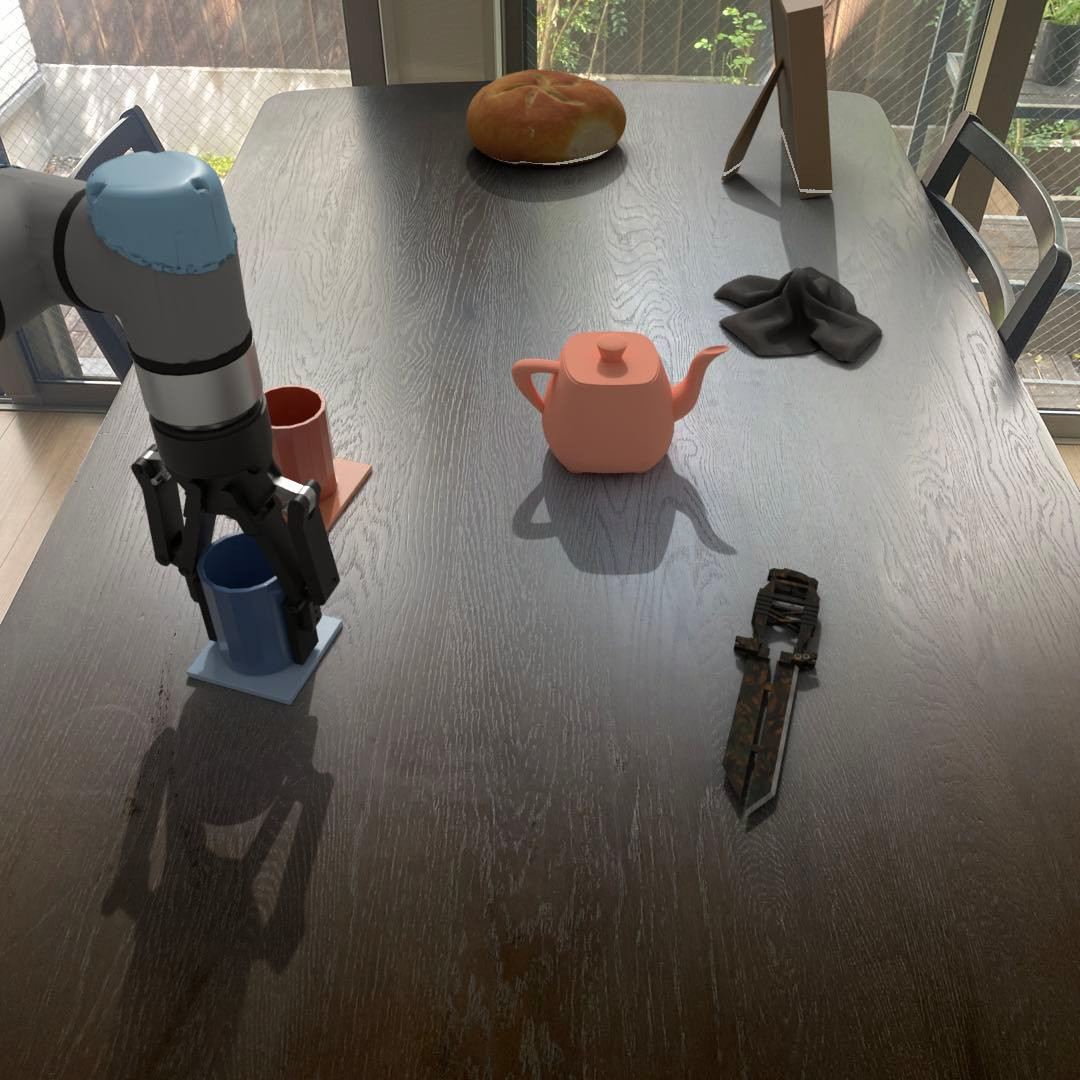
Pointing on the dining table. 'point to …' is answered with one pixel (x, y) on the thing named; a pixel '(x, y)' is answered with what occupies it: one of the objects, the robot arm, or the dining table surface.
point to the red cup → (302, 436)
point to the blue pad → (268, 686)
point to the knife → (769, 685)
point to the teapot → (611, 400)
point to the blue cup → (245, 605)
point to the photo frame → (796, 95)
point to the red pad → (343, 489)
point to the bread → (544, 118)
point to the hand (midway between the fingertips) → (264, 640)
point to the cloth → (797, 315)
